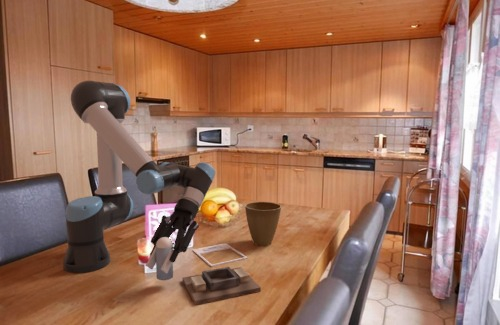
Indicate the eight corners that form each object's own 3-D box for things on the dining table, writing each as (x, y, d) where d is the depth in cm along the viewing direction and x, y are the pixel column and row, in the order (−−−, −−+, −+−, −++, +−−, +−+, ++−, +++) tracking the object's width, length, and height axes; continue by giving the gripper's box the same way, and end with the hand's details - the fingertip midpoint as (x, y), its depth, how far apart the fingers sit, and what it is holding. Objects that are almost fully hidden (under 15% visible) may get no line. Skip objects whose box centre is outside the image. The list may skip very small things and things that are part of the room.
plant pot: (259, 251, 139) (259, 211, 137) (238, 241, 151) (238, 204, 149) (288, 244, 148) (288, 206, 146) (265, 234, 160) (265, 199, 158)
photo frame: (225, 242, 148) (247, 256, 132) (225, 245, 148) (247, 259, 132) (192, 249, 140) (211, 265, 125) (192, 251, 140) (211, 268, 125)
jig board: (195, 304, 99) (195, 292, 99) (182, 281, 114) (182, 270, 113) (260, 291, 107) (260, 279, 107) (240, 270, 122) (240, 260, 121)
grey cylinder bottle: (157, 281, 107) (157, 241, 105) (155, 274, 111) (154, 235, 110) (174, 278, 109) (174, 239, 107) (171, 272, 113) (170, 234, 112)
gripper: (216, 213, 118) (186, 280, 105) (172, 206, 125) (140, 268, 113) (207, 200, 112) (174, 270, 100) (162, 194, 120) (127, 258, 107)
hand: (156, 269), depth 106 cm, fingers closed on grey cylinder bottle, 5 cm apart
